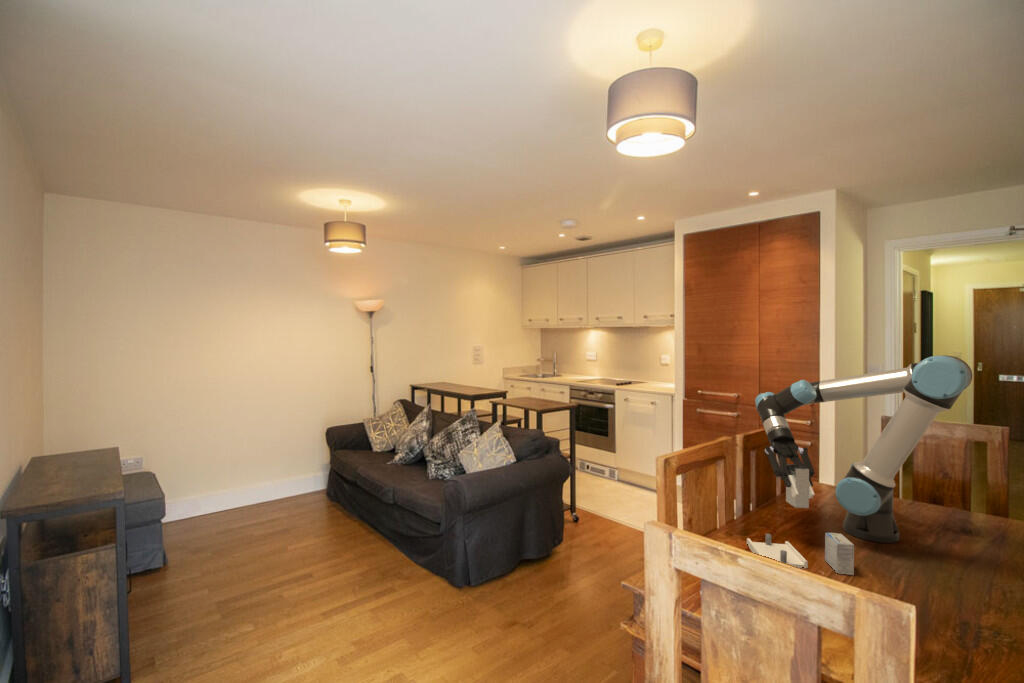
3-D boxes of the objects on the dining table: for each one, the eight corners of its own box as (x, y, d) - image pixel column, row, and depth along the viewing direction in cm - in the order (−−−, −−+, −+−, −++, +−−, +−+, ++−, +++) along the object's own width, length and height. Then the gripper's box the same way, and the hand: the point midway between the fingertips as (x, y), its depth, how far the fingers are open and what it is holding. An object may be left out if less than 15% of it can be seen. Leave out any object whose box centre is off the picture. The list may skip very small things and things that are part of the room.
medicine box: (854, 576, 135) (855, 544, 135) (836, 574, 136) (836, 543, 136) (841, 563, 143) (841, 533, 142) (824, 561, 143) (824, 531, 143)
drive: (798, 501, 158) (799, 464, 158) (809, 507, 152) (809, 469, 152) (785, 501, 159) (786, 463, 159) (795, 507, 153) (795, 468, 153)
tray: (787, 547, 152) (788, 534, 152) (807, 568, 139) (807, 554, 139) (746, 544, 154) (746, 531, 154) (762, 565, 140) (762, 551, 140)
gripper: (800, 439, 170) (827, 502, 154) (749, 438, 171) (771, 501, 155) (808, 426, 165) (837, 491, 148) (756, 426, 166) (779, 489, 150)
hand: (803, 496), depth 152 cm, fingers closed on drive, 4 cm apart
